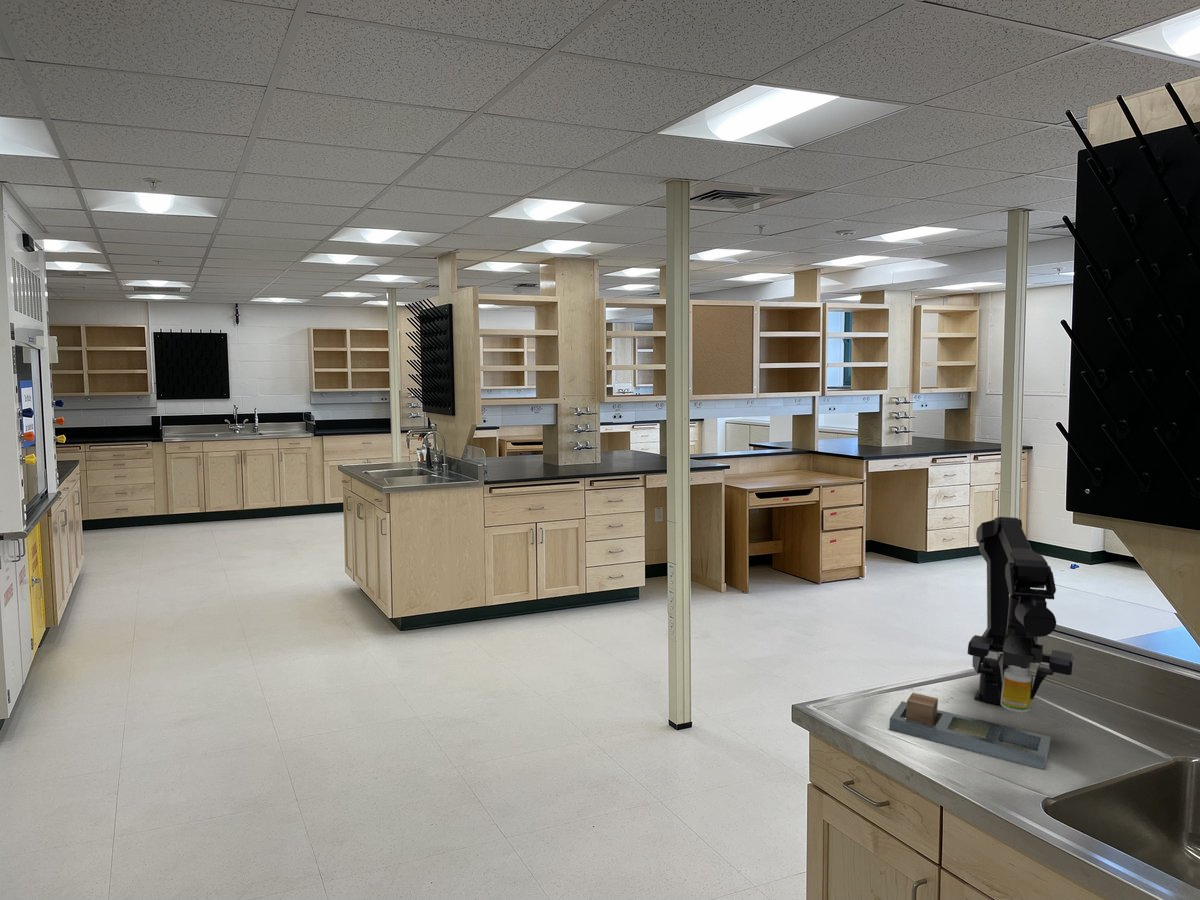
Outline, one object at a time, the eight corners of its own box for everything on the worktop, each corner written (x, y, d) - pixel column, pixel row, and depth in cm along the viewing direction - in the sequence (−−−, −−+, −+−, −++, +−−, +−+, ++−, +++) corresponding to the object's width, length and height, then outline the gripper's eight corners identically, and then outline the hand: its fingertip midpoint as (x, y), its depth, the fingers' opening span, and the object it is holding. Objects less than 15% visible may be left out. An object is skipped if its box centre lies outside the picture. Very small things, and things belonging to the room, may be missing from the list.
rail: (900, 712, 182) (901, 701, 182) (1049, 749, 167) (1050, 736, 167) (889, 729, 174) (890, 717, 173) (1044, 769, 159) (1045, 756, 158)
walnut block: (910, 720, 179) (912, 692, 178) (935, 726, 176) (938, 698, 175) (904, 728, 174) (907, 700, 174) (930, 735, 172) (933, 706, 171)
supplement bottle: (1033, 714, 170) (1038, 667, 169) (1004, 711, 171) (1008, 664, 170) (1025, 703, 176) (1030, 657, 174) (997, 700, 177) (1001, 655, 175)
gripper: (966, 621, 169) (959, 697, 171) (1073, 641, 160) (1065, 721, 161) (975, 607, 179) (969, 679, 181) (1077, 625, 169) (1069, 701, 171)
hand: (1016, 695), depth 173 cm, fingers closed on supplement bottle, 5 cm apart
